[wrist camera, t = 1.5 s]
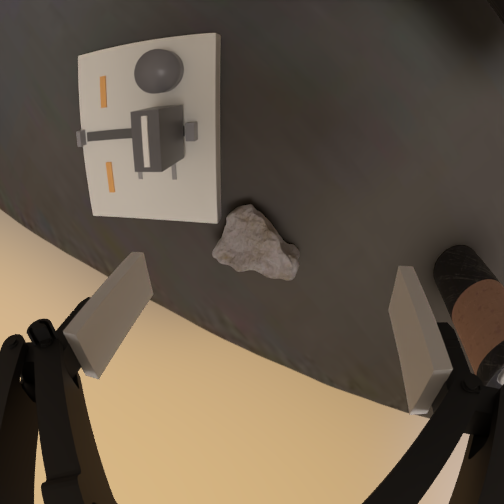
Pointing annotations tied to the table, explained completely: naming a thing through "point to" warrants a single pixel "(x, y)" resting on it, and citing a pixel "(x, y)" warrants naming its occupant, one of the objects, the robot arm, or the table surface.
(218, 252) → the stone
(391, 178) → the table surface
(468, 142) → the table surface
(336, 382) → the table surface
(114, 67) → the console
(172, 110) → the fader
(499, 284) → the travel mug
